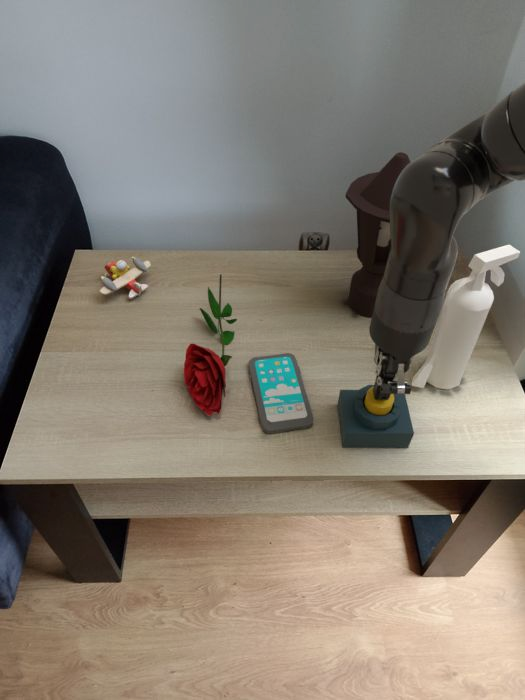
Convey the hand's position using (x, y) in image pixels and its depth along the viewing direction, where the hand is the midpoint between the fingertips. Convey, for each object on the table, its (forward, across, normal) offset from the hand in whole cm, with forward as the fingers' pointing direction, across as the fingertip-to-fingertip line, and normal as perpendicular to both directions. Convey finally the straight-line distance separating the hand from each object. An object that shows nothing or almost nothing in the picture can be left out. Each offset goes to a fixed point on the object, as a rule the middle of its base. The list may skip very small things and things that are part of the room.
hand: (380, 395), depth 74 cm
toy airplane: (+8, +32, +44) cm, 54 cm away
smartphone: (+8, +6, +14) cm, 17 cm away
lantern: (+8, +28, -4) cm, 29 cm away
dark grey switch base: (+8, 0, 0) cm, 8 cm away
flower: (+8, +15, +26) cm, 31 cm away
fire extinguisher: (+8, +10, -12) cm, 18 cm away
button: (+2, 0, 0) cm, 2 cm away
